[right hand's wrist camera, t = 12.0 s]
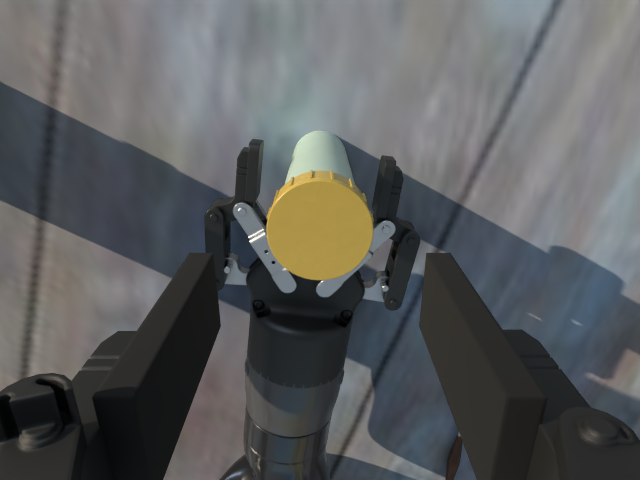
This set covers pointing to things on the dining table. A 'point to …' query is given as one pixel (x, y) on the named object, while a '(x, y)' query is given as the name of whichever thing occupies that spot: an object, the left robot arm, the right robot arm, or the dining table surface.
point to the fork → (454, 458)
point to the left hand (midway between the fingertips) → (323, 149)
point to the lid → (320, 225)
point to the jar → (319, 155)
